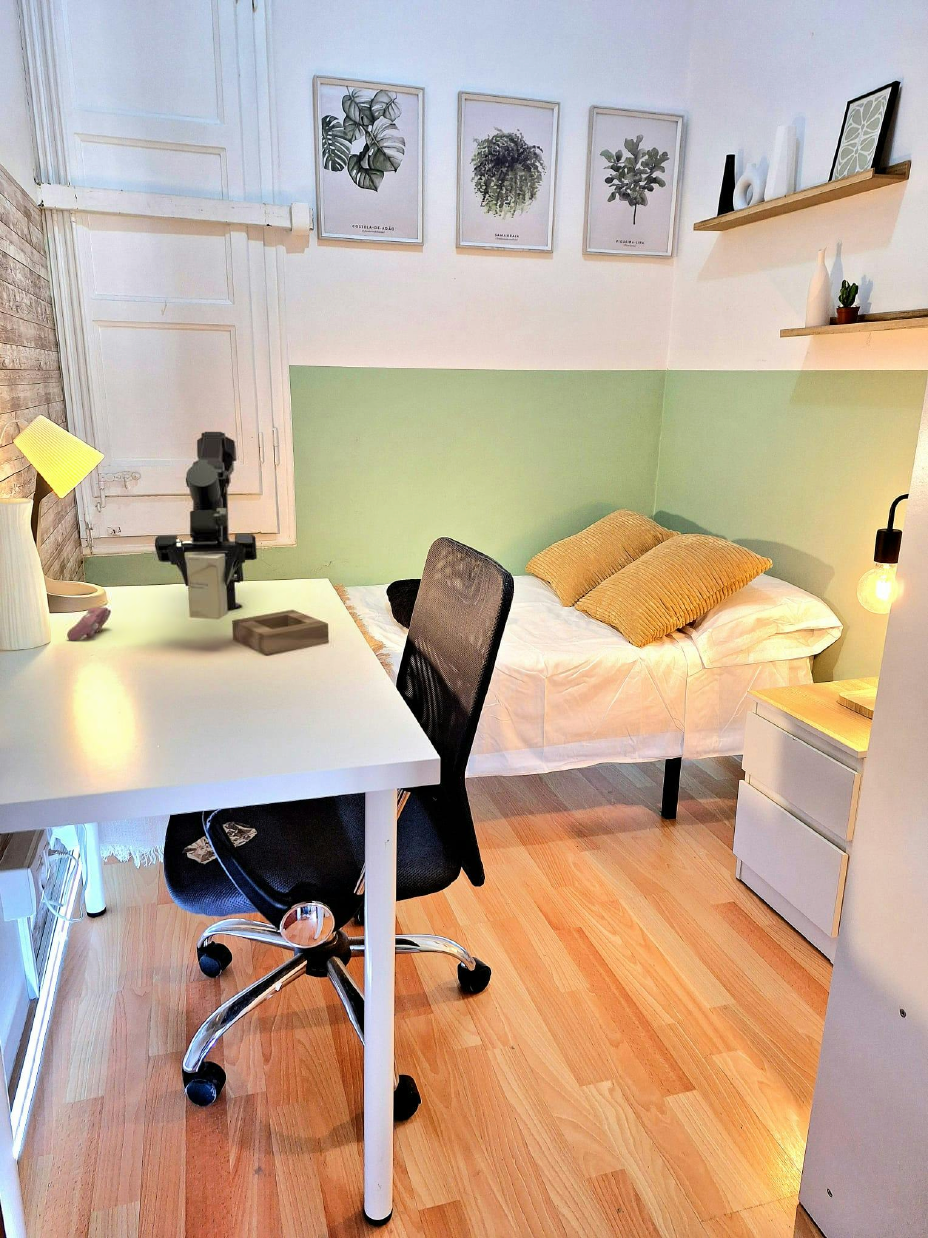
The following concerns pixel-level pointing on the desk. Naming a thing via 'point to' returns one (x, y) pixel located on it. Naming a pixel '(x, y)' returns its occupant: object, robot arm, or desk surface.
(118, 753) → the desk surface
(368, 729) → the desk surface
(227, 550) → the robot arm
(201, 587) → the skincare box
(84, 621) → the pink toy car
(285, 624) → the frame
